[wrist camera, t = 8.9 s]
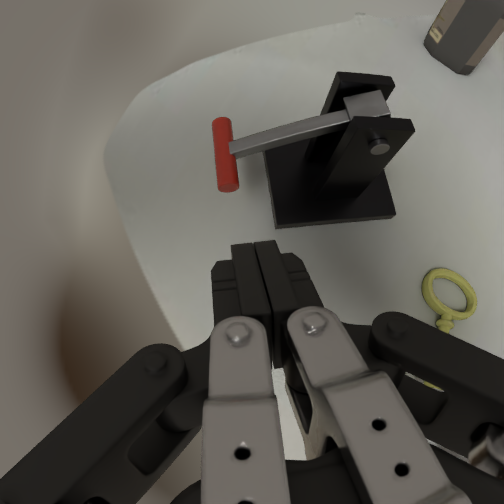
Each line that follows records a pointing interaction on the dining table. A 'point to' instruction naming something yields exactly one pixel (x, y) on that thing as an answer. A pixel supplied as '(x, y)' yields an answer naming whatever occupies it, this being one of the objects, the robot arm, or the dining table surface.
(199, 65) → the dining table surface
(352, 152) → the switch bracket
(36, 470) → the robot arm
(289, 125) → the lever
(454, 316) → the key
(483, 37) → the liquor
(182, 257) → the dining table surface
